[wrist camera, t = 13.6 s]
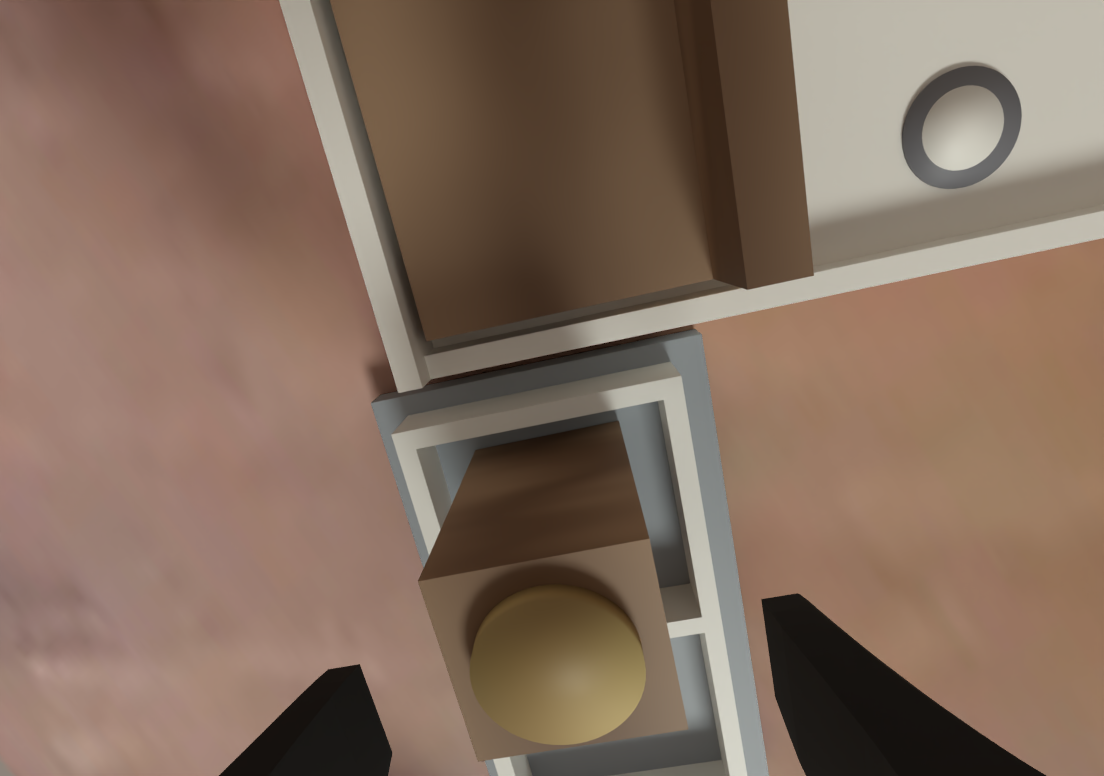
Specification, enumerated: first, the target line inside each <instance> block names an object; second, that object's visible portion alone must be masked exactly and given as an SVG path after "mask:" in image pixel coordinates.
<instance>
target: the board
mask: <svg viewBox="0 0 1104 776" xmlns="http://www.w3.org/2000/svg"><path fill="white" fill-rule="evenodd" d="M787 1H788V11H789V22H790V32H791V42H792V53H793V63H794V73H795V84H796V94H797V104H798V115H799V125H800V135H801V146H802V156H803V167H804V177H805V187H806V198H807V208H808V218H809V229H810V239H811V249H812V260H813V270H814V276H810V277H806V278H801V279H796V280H792V281H787V282H782V283H778V284H773V285H768V286H763V287H759V288H754V289H749V290H746V289H743V288H740V287H737V286H733V285H730V284H727V283H724V282H721V281H718V280H714V279H712V280H708V281H703V282H698V283H694V284H689V285H685V286H680V287H675V288H671V289H666V290H661V291H657V292H652V293H648V294H643V295H638V296H634V297H629V298H625V299H620V300H615V301H611V302H606V303H601V304H597V305H592V306H588V307H583V308H578V309H574V310H569V311H565V312H560V313H555V314H551V315H546V316H541V317H537V318H532V319H528V320H523V321H518V322H514V323H509V324H505V325H500V326H495V327H491V328H486V329H482V330H477V331H472V332H468V333H463V334H458V335H454V336H449V337H445V338H440V339H435V340H431V341H426V338H425V335H424V331H423V328H422V324H421V321H420V317H419V313H418V310H417V306H416V303H415V299H414V296H413V292H412V289H411V285H410V282H409V278H408V275H407V271H406V268H405V264H404V261H403V257H402V253H401V250H400V246H399V243H398V239H397V236H396V232H395V229H394V225H393V222H392V218H391V215H390V211H389V208H388V204H387V201H386V197H385V193H384V190H383V186H382V183H381V179H380V176H379V172H378V169H377V165H376V162H375V158H374V155H373V151H372V148H371V144H370V141H369V137H368V133H367V130H366V126H365V123H364V119H363V116H362V112H361V109H360V105H359V102H358V98H357V95H356V91H355V88H354V84H353V81H352V77H351V73H350V70H349V66H348V63H347V59H346V56H345V52H344V49H343V45H342V42H341V38H340V35H339V31H338V28H337V24H336V21H335V17H334V14H333V10H332V6H331V3H330V0H279V2H280V5H281V8H282V12H283V15H284V18H285V22H286V25H287V28H288V31H289V35H290V38H291V41H292V45H293V48H294V51H295V54H296V58H297V61H298V64H299V68H300V71H301V74H302V78H303V81H304V84H305V87H306V91H307V94H308V97H309V101H310V104H311V107H312V110H313V114H314V117H315V120H316V124H317V127H318V130H319V133H320V137H321V140H322V143H323V147H324V150H325V153H326V156H327V160H328V163H329V166H330V170H331V173H332V176H333V179H334V183H335V186H336V189H337V193H338V196H339V199H340V202H341V206H342V209H343V212H344V216H345V219H346V222H347V226H348V229H349V232H350V235H351V239H352V242H353V245H354V249H355V252H356V255H357V258H358V262H359V265H360V268H361V272H362V275H363V278H364V281H365V285H366V288H367V291H368V295H369V298H370V301H371V304H372V308H373V311H374V314H375V318H376V321H377V324H378V327H379V331H380V334H381V337H382V341H383V344H384V347H385V350H386V354H387V357H388V360H389V364H390V367H391V370H392V374H393V377H394V380H395V383H396V387H397V390H398V393H401V392H406V391H411V390H416V389H420V388H423V387H424V386H425V385H426V384H427V383H428V382H429V381H430V380H431V379H435V378H440V377H445V376H450V375H454V374H459V373H464V372H469V371H473V370H478V369H483V368H488V367H492V366H497V365H502V364H507V363H511V362H516V361H521V360H526V359H530V358H535V357H540V356H545V355H549V354H554V353H559V352H564V351H568V350H573V349H578V348H583V347H587V346H592V345H597V344H602V343H606V342H611V341H616V340H621V339H625V338H630V337H635V336H640V335H644V334H649V333H654V332H659V331H663V330H668V329H673V328H678V327H682V326H687V325H692V324H697V323H702V322H706V321H711V320H716V319H721V318H725V317H730V316H735V315H740V314H744V313H749V312H754V311H759V310H763V309H768V308H773V307H778V306H782V305H787V304H792V303H797V302H801V301H806V300H811V299H816V298H820V297H825V296H830V295H835V294H839V293H844V292H849V291H854V290H858V289H863V288H868V287H873V286H877V285H882V284H887V283H892V282H896V281H901V280H906V279H911V278H915V277H920V276H925V275H930V274H934V273H939V272H944V271H949V270H953V269H958V268H963V267H968V266H972V265H977V264H982V263H987V262H992V261H996V260H1001V259H1006V258H1011V257H1015V256H1020V255H1025V254H1030V253H1034V252H1039V251H1044V250H1049V249H1053V248H1058V247H1063V246H1068V245H1072V244H1077V243H1082V242H1087V241H1091V240H1096V239H1101V238H1104V0H787Z"/></svg>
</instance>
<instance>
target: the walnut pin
mask: <svg viewBox="0 0 1104 776" xmlns="http://www.w3.org/2000/svg"><path fill="white" fill-rule="evenodd" d="M418 583H419V586H420V589H421V592H422V595H423V598H424V601H425V604H426V607H427V610H428V613H429V616H430V619H431V622H432V625H433V628H434V631H435V634H436V637H437V640H438V643H439V646H440V649H441V652H442V655H443V658H444V661H445V664H446V667H447V670H448V673H449V676H450V679H451V682H452V685H453V688H454V691H455V694H456V697H457V700H458V703H459V706H460V709H461V712H462V715H463V718H464V721H465V724H466V727H467V730H468V733H469V736H470V739H471V742H472V745H473V748H474V751H475V754H476V757H477V760H478V762H479V761H486V760H492V759H499V758H505V757H512V756H518V755H525V754H531V753H538V752H544V751H551V750H558V749H564V748H571V747H577V746H584V745H590V744H597V743H603V742H610V741H616V740H623V739H629V738H636V737H643V736H649V735H656V734H662V733H669V732H675V731H682V730H688V724H687V719H686V714H685V709H684V705H683V700H682V695H681V690H680V685H679V680H678V675H677V670H676V666H675V661H674V656H673V651H672V646H671V641H670V636H669V631H668V627H667V622H666V617H665V612H664V607H663V602H662V597H661V592H660V588H659V583H658V578H657V573H656V568H655V563H654V558H653V553H652V549H651V544H650V539H649V535H648V531H647V527H646V523H645V520H644V516H643V512H642V508H641V504H640V500H639V496H638V493H637V489H636V485H635V481H634V477H633V473H632V470H631V466H630V462H629V458H628V454H627V450H626V446H625V443H624V439H623V435H622V431H621V427H620V423H619V421H614V422H609V423H605V424H600V425H595V426H590V427H585V428H580V429H575V430H570V431H566V432H561V433H556V434H551V435H546V436H541V437H536V438H531V439H527V440H522V441H517V442H512V443H507V444H502V445H497V446H492V447H488V448H483V449H478V450H475V452H474V454H473V457H472V459H471V461H470V464H469V466H468V468H467V470H466V473H465V475H464V477H463V480H462V482H461V484H460V486H459V489H458V491H457V493H456V496H455V498H454V500H453V502H452V505H451V507H450V509H449V512H448V514H447V516H446V518H445V521H444V523H443V525H442V528H441V530H440V532H439V534H438V537H437V539H436V541H435V544H434V546H433V548H432V550H431V553H430V555H429V557H428V560H427V562H426V564H425V566H424V569H423V571H422V573H421V576H420V578H419V580H418Z"/></svg>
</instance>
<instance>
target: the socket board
mask: <svg viewBox="0 0 1104 776" xmlns="http://www.w3.org/2000/svg"><path fill="white" fill-rule="evenodd" d="M371 405H372V408H373V411H374V415H375V418H376V421H377V424H378V427H379V430H380V433H381V437H382V440H383V443H384V446H385V449H386V452H387V455H388V458H389V462H390V465H391V468H392V471H393V474H394V477H395V480H396V484H397V487H398V490H399V493H400V496H401V499H402V502H403V506H404V509H405V512H406V515H407V518H408V521H409V524H410V527H411V531H412V534H413V537H414V540H415V543H416V546H417V549H418V553H419V556H420V559H421V562H422V565H423V568H424V566H425V564H426V562H427V560H428V557H429V555H430V553H431V550H432V548H433V546H434V544H435V541H436V539H437V537H438V534H439V532H440V530H441V528H442V525H443V523H444V521H445V518H446V516H447V514H448V512H449V509H450V507H451V505H452V502H453V500H454V498H455V496H456V493H457V491H458V489H459V486H460V484H461V482H462V480H463V477H464V475H465V473H466V470H467V468H468V466H469V464H470V461H471V459H472V457H473V454H474V452H475V450H478V449H483V448H488V447H492V446H497V445H502V444H507V443H512V442H517V441H522V440H527V439H531V438H536V437H541V436H546V435H551V434H556V433H561V432H566V431H570V430H575V429H580V428H585V427H590V426H595V425H600V424H605V423H609V422H614V421H619V423H620V427H621V431H622V435H623V439H624V443H625V446H626V450H627V454H628V458H629V462H630V466H631V470H632V473H633V477H634V481H635V485H636V489H637V493H638V496H639V500H640V504H641V508H642V512H643V516H644V520H645V523H646V527H647V531H648V535H649V539H650V544H651V549H652V553H653V558H654V563H655V568H656V573H657V578H658V583H659V588H660V592H661V597H662V602H663V607H664V612H665V617H666V622H667V627H668V631H669V636H670V641H671V646H672V651H673V656H674V661H675V666H676V670H677V675H678V680H679V685H680V690H681V695H682V700H683V705H684V709H685V714H686V719H687V724H688V730H682V731H675V732H669V733H662V734H656V735H649V736H643V737H636V738H629V739H623V740H616V741H610V742H603V743H597V744H590V745H584V746H577V747H571V748H564V749H558V750H551V751H544V752H538V753H531V754H525V755H518V756H512V757H505V758H499V759H492V760H486V761H485V763H486V766H487V769H488V772H489V775H490V776H769V774H768V767H767V760H766V754H765V747H764V741H763V734H762V728H761V721H760V715H759V708H758V701H757V695H756V688H755V682H754V675H753V669H752V662H751V655H750V649H749V642H748V636H747V629H746V623H745V616H744V610H743V603H742V596H741V590H740V583H739V577H738V570H737V564H736V557H735V550H734V544H733V537H732V531H731V524H730V518H729V511H728V504H727V498H726V491H725V485H724V478H723V472H722V465H721V459H720V452H719V445H718V439H717V432H716V426H715V419H714V413H713V406H712V399H711V393H710V386H709V380H708V373H707V367H706V360H705V354H704V347H703V340H702V334H701V333H699V332H698V331H697V330H695V329H693V330H688V331H683V332H678V333H674V334H669V335H664V336H659V337H654V338H650V339H645V340H640V341H635V342H631V343H626V344H621V345H616V346H611V347H607V348H602V349H597V350H592V351H588V352H583V353H578V354H573V355H569V356H564V357H559V358H554V359H549V360H545V361H540V362H535V363H530V364H526V365H521V366H516V367H511V368H506V369H502V370H497V371H492V372H487V373H483V374H478V375H473V376H468V377H464V378H459V379H454V380H449V381H444V382H440V383H435V384H430V385H425V386H424V387H423V388H420V389H416V390H411V391H406V392H401V393H398V391H397V392H392V393H387V394H382V395H380V396H379V397H377V398H376V399H375V400H374V401H373V402H372V403H371Z"/></svg>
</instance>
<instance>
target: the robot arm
mask: <svg viewBox="0 0 1104 776" xmlns="http://www.w3.org/2000/svg"><path fill="white" fill-rule="evenodd" d="M761 600H762V607H763V614H764V621H765V628H766V635H767V642H768V649H769V656H770V663H771V670H772V677H773V684H774V691H775V697H776V700H777V703H778V706H779V708H780V711H781V714H782V716H783V719H784V722H785V725H786V727H787V730H788V733H789V735H790V738H791V741H792V743H793V746H794V748H795V751H796V754H797V756H798V759H799V762H800V764H801V766H802V768H803V770H804V772H805V774H806V776H1046V775H1044V774H1043V773H1041V772H1039V771H1038V770H1036V769H1034V768H1033V767H1031V766H1030V765H1028V764H1026V763H1025V762H1023V761H1021V760H1020V759H1018V758H1017V757H1015V756H1014V755H1012V754H1011V753H1009V752H1008V751H1006V750H1004V749H1003V748H1001V747H1000V746H998V745H997V744H995V743H994V742H992V741H991V740H989V739H988V738H986V737H985V736H983V735H982V734H980V733H979V732H978V731H976V730H975V729H973V728H972V727H970V726H969V725H967V724H966V723H965V722H963V721H962V720H960V719H959V718H957V717H956V716H955V715H953V714H952V713H950V712H949V711H947V710H946V709H945V708H943V707H942V706H940V705H939V704H938V703H936V702H935V701H933V700H932V699H931V698H929V697H928V696H927V695H925V694H924V693H922V692H921V691H920V690H918V689H917V688H916V687H914V686H913V685H912V684H911V683H909V682H908V681H907V680H905V679H904V678H903V677H901V676H900V675H899V674H897V673H896V672H895V671H893V670H892V669H891V668H890V667H888V666H887V665H886V664H884V663H883V662H882V661H880V660H879V659H878V658H877V657H875V656H874V655H873V654H872V653H870V652H869V651H868V650H866V649H865V648H864V647H863V646H862V645H860V644H859V643H858V642H857V641H855V640H854V639H853V638H852V637H851V636H849V635H848V634H847V633H846V632H844V631H843V630H842V629H841V628H840V627H838V626H837V625H836V624H835V623H834V622H832V621H831V620H830V619H829V618H828V617H827V616H825V615H824V614H823V613H822V612H821V611H820V610H818V609H817V608H816V607H815V606H814V605H812V604H811V603H810V602H809V601H808V600H807V599H805V598H804V597H803V596H801V595H800V594H792V595H785V596H779V597H773V598H767V599H761ZM391 757H392V750H391V748H390V745H389V742H388V740H387V737H386V734H385V732H384V729H383V726H382V723H381V721H380V718H379V715H378V713H377V710H376V707H375V705H374V702H373V699H372V696H371V694H370V691H369V688H368V686H367V683H366V680H365V678H364V675H363V672H362V669H361V667H360V664H359V665H353V666H347V667H341V668H334V669H328V670H327V671H326V672H325V673H324V674H323V675H321V676H320V677H319V678H318V679H317V680H316V681H315V682H314V683H313V684H312V685H311V686H309V687H308V688H307V689H306V690H305V691H304V692H303V693H302V694H301V695H300V696H299V697H298V698H297V699H296V700H295V701H294V702H293V703H292V704H291V705H290V706H289V707H288V708H287V709H286V710H285V711H284V712H283V713H282V714H281V715H280V716H279V717H278V718H277V719H276V720H275V721H274V722H273V723H272V724H271V725H270V726H269V727H268V728H267V729H266V730H265V731H264V732H263V733H262V734H261V735H260V736H259V737H258V738H257V739H256V740H255V741H254V742H253V743H252V744H251V745H250V746H249V747H248V748H247V749H246V750H245V751H244V752H243V753H242V754H241V755H239V756H238V757H237V758H236V759H235V760H234V761H233V762H232V763H231V764H230V765H229V766H228V767H227V768H226V769H225V770H224V771H223V772H222V773H221V774H220V775H219V776H388V772H389V767H390V762H391Z"/></svg>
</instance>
